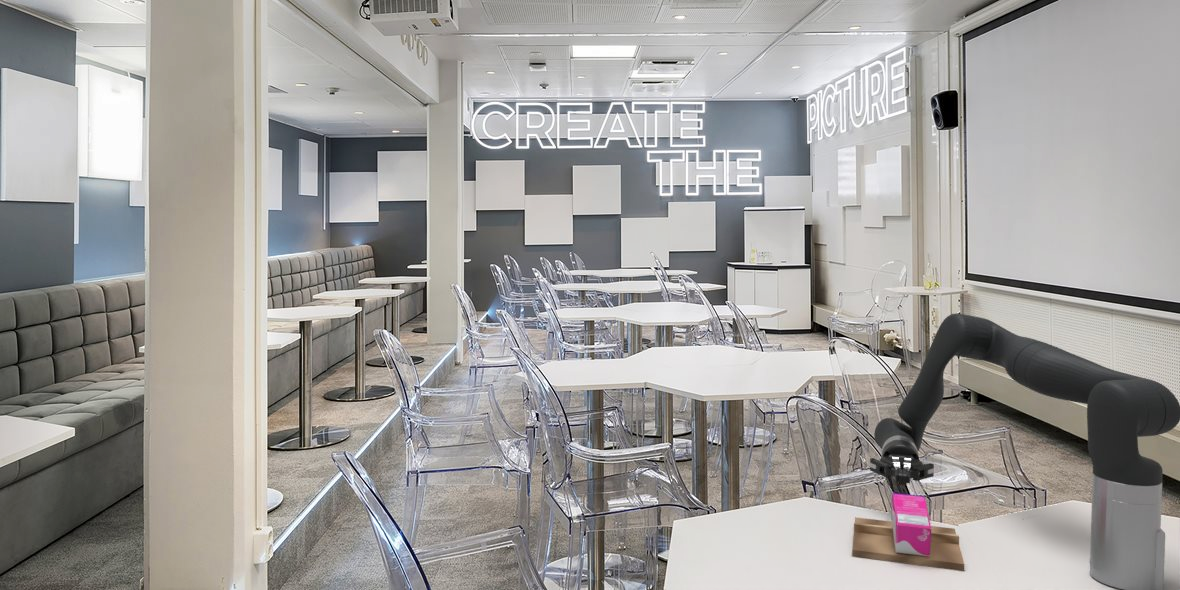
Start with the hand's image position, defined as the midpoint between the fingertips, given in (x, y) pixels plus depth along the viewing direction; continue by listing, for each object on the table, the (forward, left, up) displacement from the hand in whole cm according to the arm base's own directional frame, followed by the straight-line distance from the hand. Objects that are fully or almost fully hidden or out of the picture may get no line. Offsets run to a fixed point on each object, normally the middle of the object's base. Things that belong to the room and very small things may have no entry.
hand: (902, 480), depth 146 cm
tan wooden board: (0, +10, -9) cm, 14 cm away
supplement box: (-1, +7, -3) cm, 8 cm away
